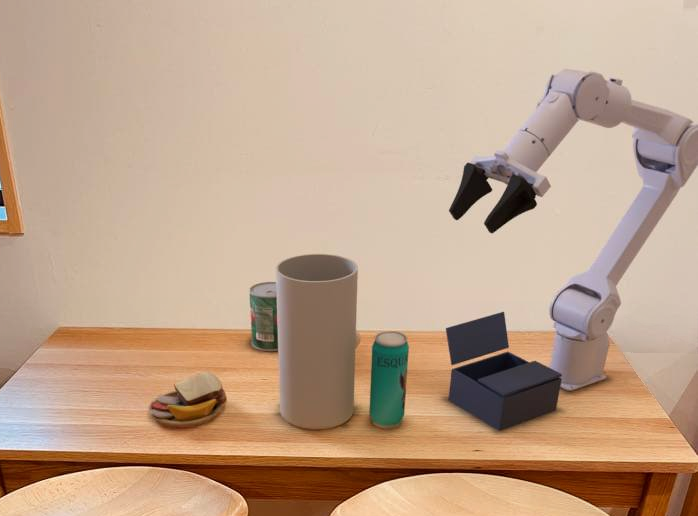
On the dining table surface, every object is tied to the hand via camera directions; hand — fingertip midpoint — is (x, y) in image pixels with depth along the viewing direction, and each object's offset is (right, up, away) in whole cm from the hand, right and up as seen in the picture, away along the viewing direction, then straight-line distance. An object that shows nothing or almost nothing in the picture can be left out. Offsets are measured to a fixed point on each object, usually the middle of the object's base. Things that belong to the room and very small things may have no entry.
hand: (470, 221), depth 122 cm
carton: (+10, -23, +23) cm, 34 cm away
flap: (+6, -11, +22) cm, 26 cm away
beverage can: (-10, -26, +19) cm, 34 cm away
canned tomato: (-30, -7, +45) cm, 55 cm away
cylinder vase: (-21, -24, +22) cm, 39 cm away
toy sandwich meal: (-44, -24, +24) cm, 55 cm away
